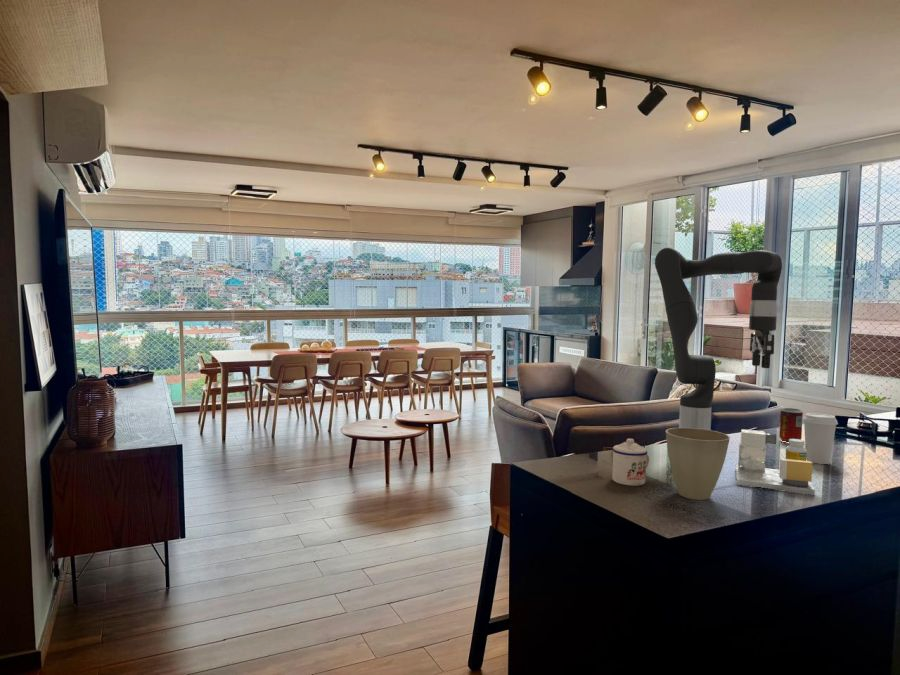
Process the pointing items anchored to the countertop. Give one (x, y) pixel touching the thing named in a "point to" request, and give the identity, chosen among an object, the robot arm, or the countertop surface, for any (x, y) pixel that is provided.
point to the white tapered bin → (819, 437)
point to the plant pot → (696, 460)
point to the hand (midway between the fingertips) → (760, 366)
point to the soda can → (790, 424)
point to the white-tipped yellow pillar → (795, 472)
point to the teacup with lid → (629, 463)
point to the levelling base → (770, 484)
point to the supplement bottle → (796, 450)
